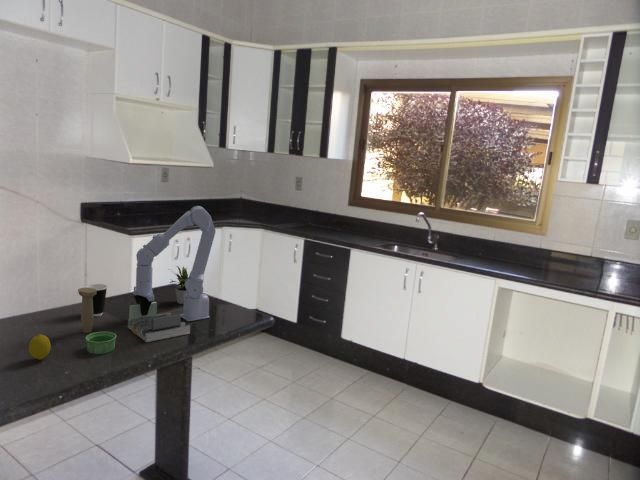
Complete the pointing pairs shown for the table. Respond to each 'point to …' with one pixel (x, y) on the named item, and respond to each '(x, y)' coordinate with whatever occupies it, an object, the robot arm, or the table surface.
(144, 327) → the rack
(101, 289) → the dixie cup
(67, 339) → the table surface
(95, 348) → the ramekin
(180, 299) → the house plant
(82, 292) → the handle
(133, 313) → the panel
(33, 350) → the lemon
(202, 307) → the robot arm
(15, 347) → the table surface
